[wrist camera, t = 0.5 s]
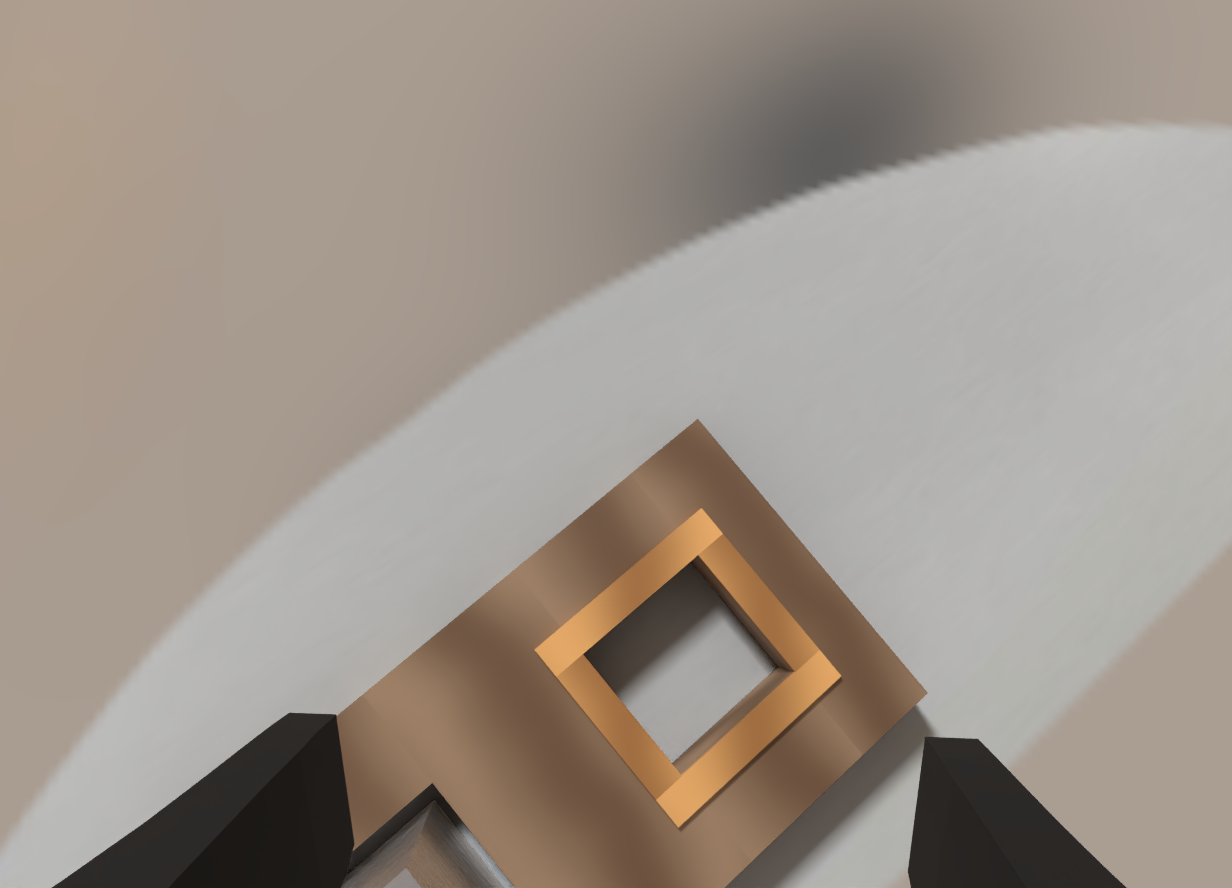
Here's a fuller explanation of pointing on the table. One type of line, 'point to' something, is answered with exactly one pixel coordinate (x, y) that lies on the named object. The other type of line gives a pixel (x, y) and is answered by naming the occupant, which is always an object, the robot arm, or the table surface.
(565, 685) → the wooden peg hole board
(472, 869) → the steel peg
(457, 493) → the table surface
